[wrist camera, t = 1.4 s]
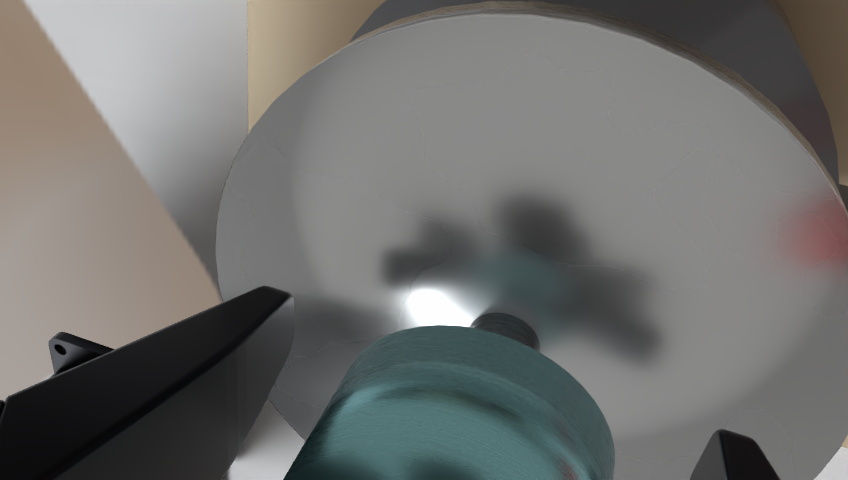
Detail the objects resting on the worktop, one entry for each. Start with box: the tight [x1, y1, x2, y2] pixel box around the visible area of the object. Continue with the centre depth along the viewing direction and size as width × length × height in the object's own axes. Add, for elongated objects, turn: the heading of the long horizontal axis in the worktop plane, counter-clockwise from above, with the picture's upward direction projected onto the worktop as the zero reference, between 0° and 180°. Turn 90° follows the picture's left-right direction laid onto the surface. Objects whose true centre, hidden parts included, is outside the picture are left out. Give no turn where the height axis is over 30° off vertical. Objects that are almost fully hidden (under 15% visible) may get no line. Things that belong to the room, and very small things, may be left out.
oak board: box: [247, 0, 848, 448], centre depth 16 cm, size 18×13×1 cm
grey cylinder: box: [349, 0, 848, 212], centre depth 14 cm, size 12×9×4 cm
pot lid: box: [216, 1, 848, 480], centre depth 8 cm, size 9×9×4 cm
